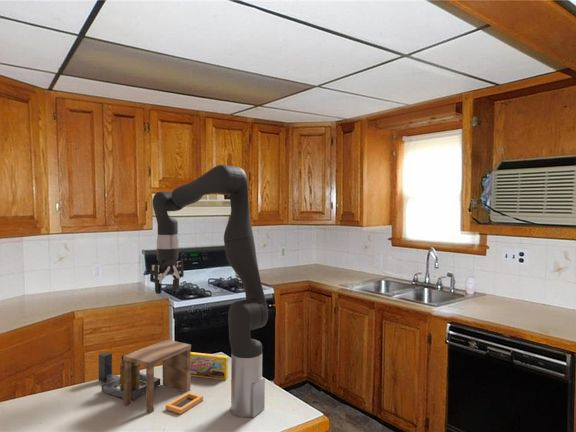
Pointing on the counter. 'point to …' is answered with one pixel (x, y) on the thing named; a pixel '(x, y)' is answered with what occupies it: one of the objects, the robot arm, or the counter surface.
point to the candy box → (209, 366)
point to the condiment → (134, 375)
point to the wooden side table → (173, 368)
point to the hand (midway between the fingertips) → (167, 291)
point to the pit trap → (184, 403)
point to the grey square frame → (117, 378)
